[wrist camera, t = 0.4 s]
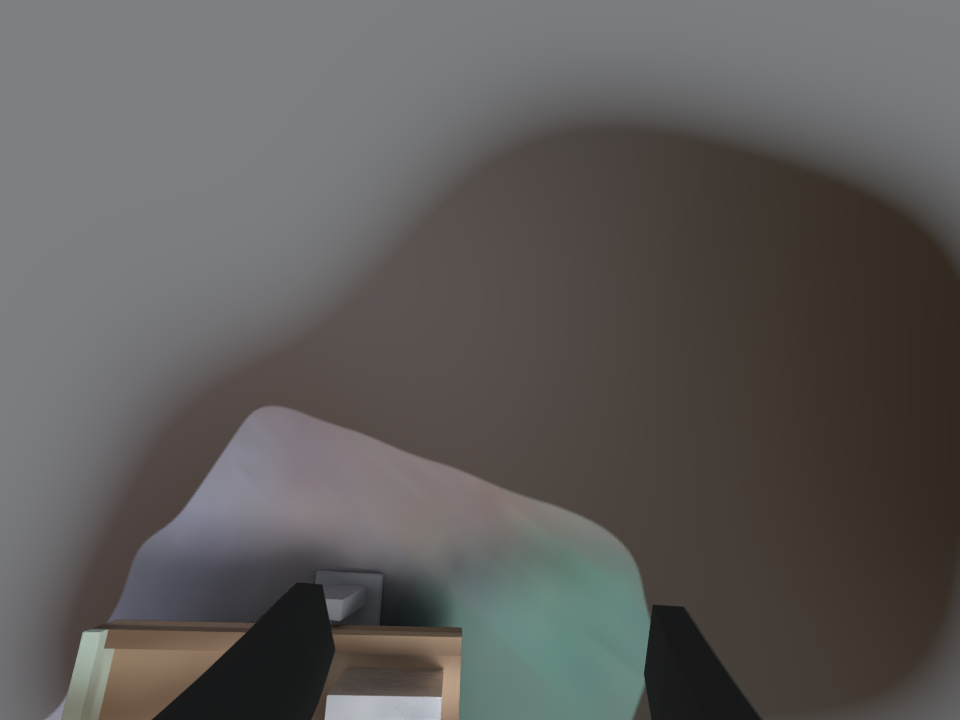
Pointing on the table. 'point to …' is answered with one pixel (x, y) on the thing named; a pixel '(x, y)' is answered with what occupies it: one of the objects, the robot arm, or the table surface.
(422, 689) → the block
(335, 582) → the stand
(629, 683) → the table surface
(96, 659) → the tan wooden tray
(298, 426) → the table surface
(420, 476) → the table surface
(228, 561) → the table surface
